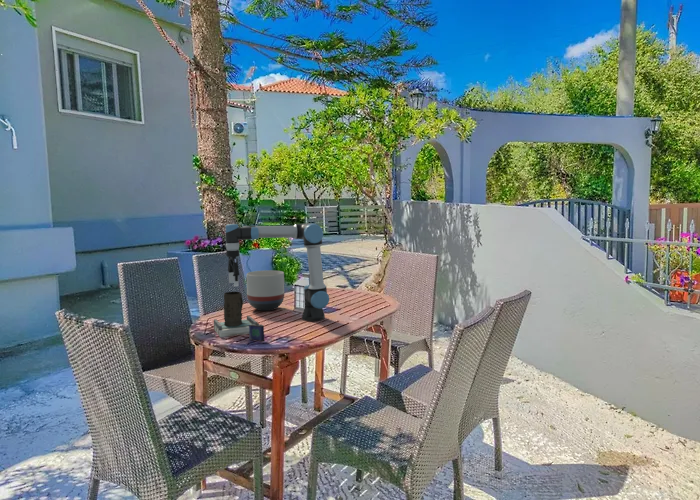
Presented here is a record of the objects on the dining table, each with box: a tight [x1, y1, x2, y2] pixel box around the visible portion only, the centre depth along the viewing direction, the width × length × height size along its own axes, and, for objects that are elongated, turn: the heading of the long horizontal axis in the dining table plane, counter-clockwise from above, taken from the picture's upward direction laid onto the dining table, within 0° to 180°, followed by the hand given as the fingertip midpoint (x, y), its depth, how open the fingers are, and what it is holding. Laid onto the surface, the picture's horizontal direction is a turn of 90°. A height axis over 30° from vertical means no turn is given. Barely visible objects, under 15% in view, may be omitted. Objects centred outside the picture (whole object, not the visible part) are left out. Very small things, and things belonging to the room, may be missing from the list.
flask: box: [248, 321, 265, 342], centre depth 276 cm, size 9×3×11 cm, turn 72°
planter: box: [246, 269, 285, 312], centre depth 352 cm, size 27×27×27 cm
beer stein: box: [223, 291, 244, 327], centre depth 296 cm, size 15×11×20 cm
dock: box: [213, 315, 257, 338], centre depth 295 cm, size 20×22×6 cm
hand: (233, 284), depth 293 cm, fingers open, 13 cm apart
